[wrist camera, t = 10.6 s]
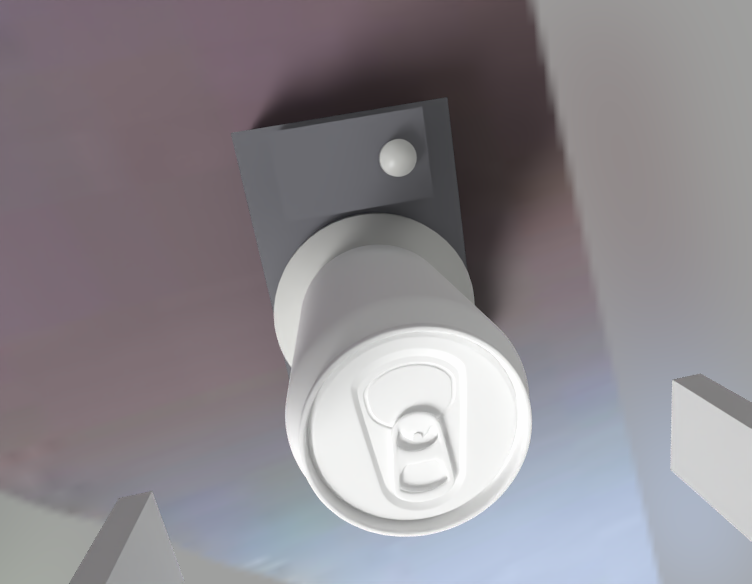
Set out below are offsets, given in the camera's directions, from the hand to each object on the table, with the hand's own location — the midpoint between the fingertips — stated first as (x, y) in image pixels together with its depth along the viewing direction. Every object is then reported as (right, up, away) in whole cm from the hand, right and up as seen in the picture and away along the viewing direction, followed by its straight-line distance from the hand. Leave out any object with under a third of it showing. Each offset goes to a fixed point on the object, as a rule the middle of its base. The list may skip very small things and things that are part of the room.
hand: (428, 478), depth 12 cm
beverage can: (-1, +3, +14) cm, 15 cm away
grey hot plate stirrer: (-2, +7, +18) cm, 19 cm away
